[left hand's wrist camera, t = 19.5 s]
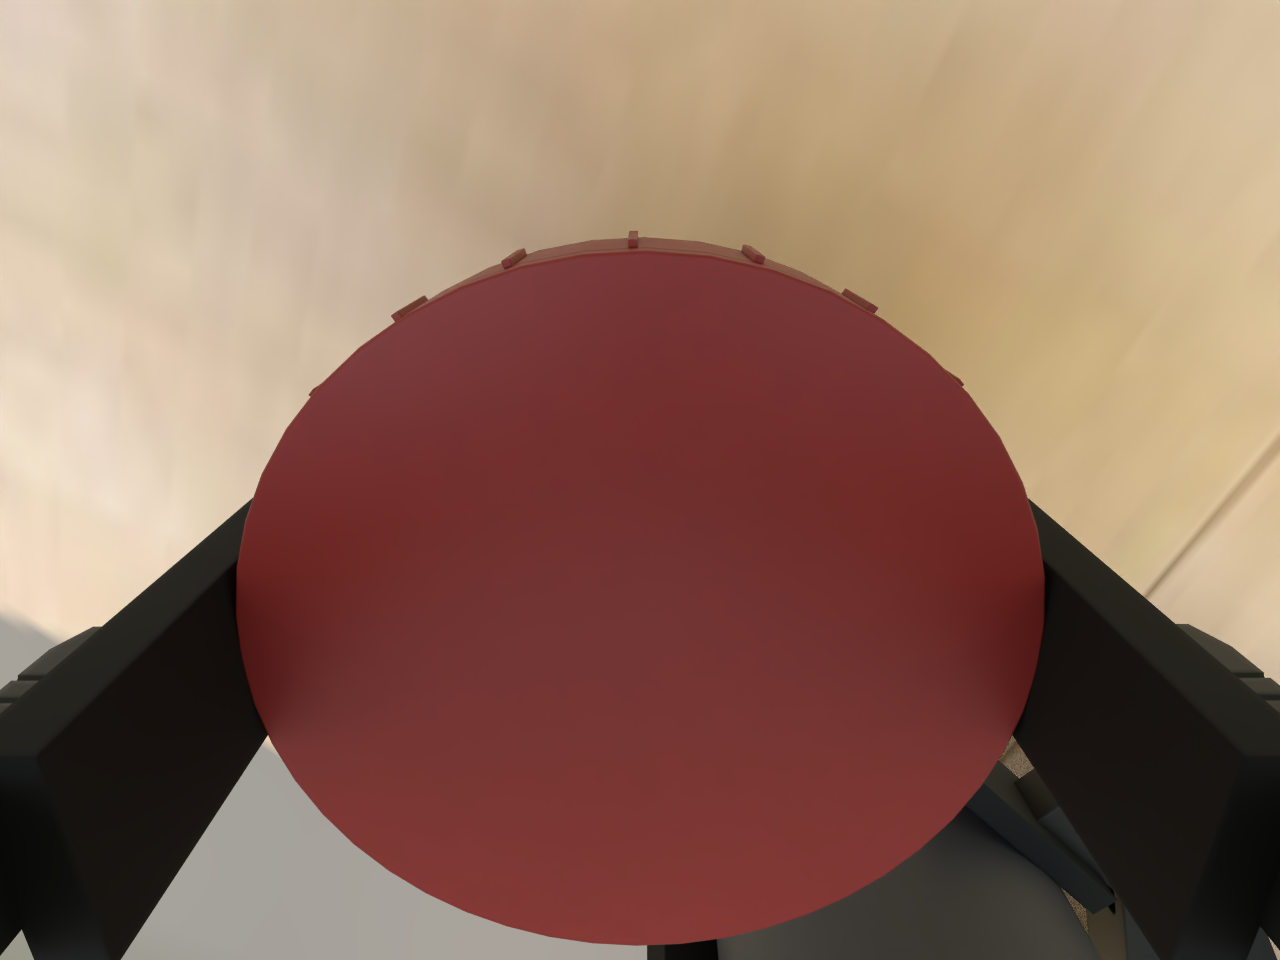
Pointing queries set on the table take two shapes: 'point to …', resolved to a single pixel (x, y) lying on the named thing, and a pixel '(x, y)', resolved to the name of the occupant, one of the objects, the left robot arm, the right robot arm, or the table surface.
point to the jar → (936, 910)
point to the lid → (640, 594)
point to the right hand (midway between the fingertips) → (786, 849)
